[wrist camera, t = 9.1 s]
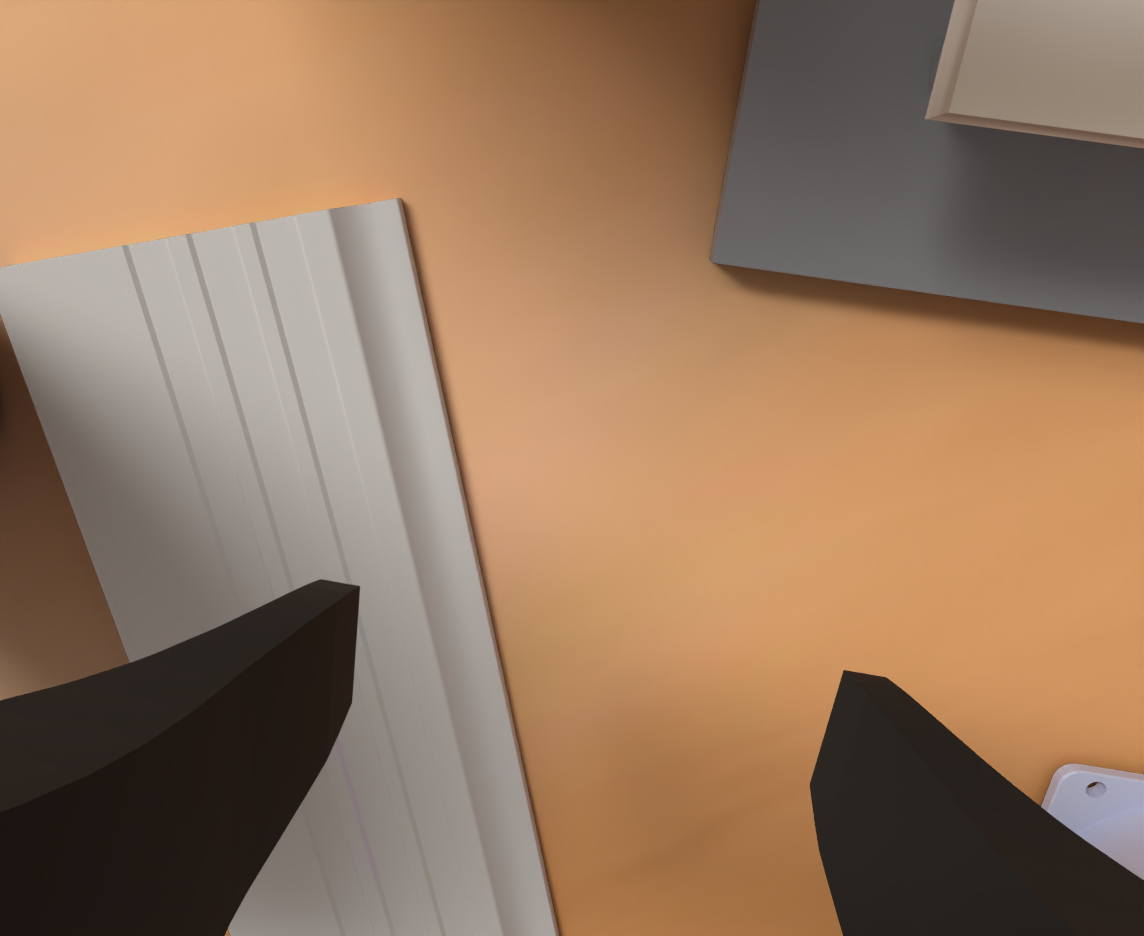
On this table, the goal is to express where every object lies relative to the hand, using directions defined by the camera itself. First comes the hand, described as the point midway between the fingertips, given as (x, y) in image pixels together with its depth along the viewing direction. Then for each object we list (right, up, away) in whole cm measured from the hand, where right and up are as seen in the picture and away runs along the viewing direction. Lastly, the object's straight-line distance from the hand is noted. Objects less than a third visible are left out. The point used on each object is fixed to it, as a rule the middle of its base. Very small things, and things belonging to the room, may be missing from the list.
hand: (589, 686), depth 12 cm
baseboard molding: (-6, -5, +14) cm, 16 cm away
